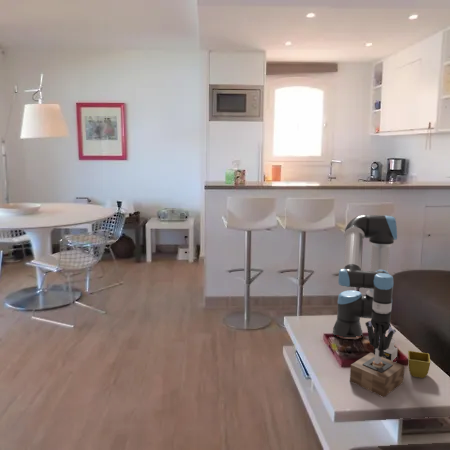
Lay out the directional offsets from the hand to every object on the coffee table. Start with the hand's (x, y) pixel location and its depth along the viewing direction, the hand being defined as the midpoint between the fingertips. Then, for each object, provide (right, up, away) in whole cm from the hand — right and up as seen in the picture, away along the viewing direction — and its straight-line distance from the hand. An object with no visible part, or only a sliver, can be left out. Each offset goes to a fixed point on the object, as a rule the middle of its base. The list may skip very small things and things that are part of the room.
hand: (377, 362), depth 195 cm
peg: (0, -8, +2) cm, 9 cm away
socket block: (0, -9, +2) cm, 9 cm away
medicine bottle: (+10, -6, +19) cm, 22 cm away
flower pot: (+20, -8, +8) cm, 23 cm away
